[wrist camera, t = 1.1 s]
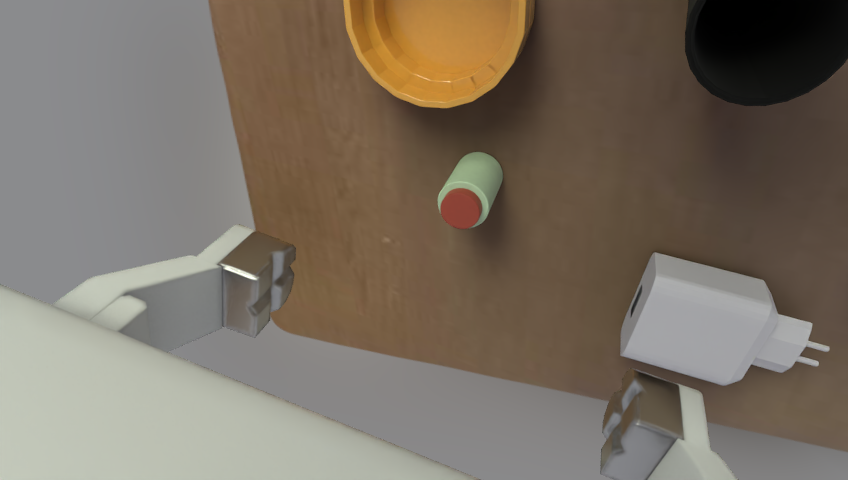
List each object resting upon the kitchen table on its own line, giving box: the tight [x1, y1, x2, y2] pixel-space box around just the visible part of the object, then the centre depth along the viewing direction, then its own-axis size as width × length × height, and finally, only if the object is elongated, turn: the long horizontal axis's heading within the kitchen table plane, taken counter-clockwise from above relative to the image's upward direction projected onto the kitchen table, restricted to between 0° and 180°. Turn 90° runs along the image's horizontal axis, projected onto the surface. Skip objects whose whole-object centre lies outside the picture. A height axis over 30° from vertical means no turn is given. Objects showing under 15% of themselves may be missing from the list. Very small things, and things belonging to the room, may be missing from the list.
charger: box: [620, 252, 829, 386], centre depth 48 cm, size 5×9×15 cm
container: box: [438, 152, 503, 229], centre depth 47 cm, size 4×4×7 cm
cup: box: [685, 0, 848, 106], centre depth 32 cm, size 8×8×12 cm
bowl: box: [343, 0, 535, 108], centre depth 41 cm, size 13×13×5 cm
